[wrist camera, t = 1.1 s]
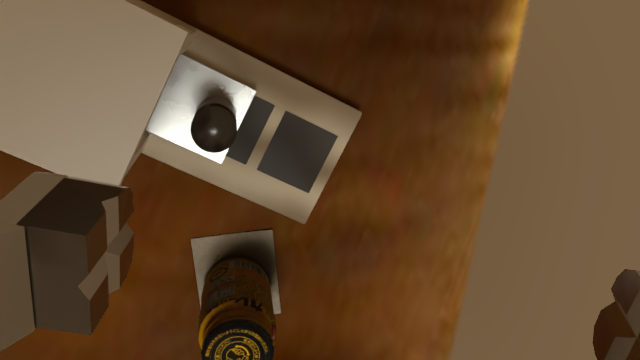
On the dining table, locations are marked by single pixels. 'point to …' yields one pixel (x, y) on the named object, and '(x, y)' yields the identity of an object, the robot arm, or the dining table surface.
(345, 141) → the track
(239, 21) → the dining table surface
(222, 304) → the condiment
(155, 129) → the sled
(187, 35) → the tunnel
